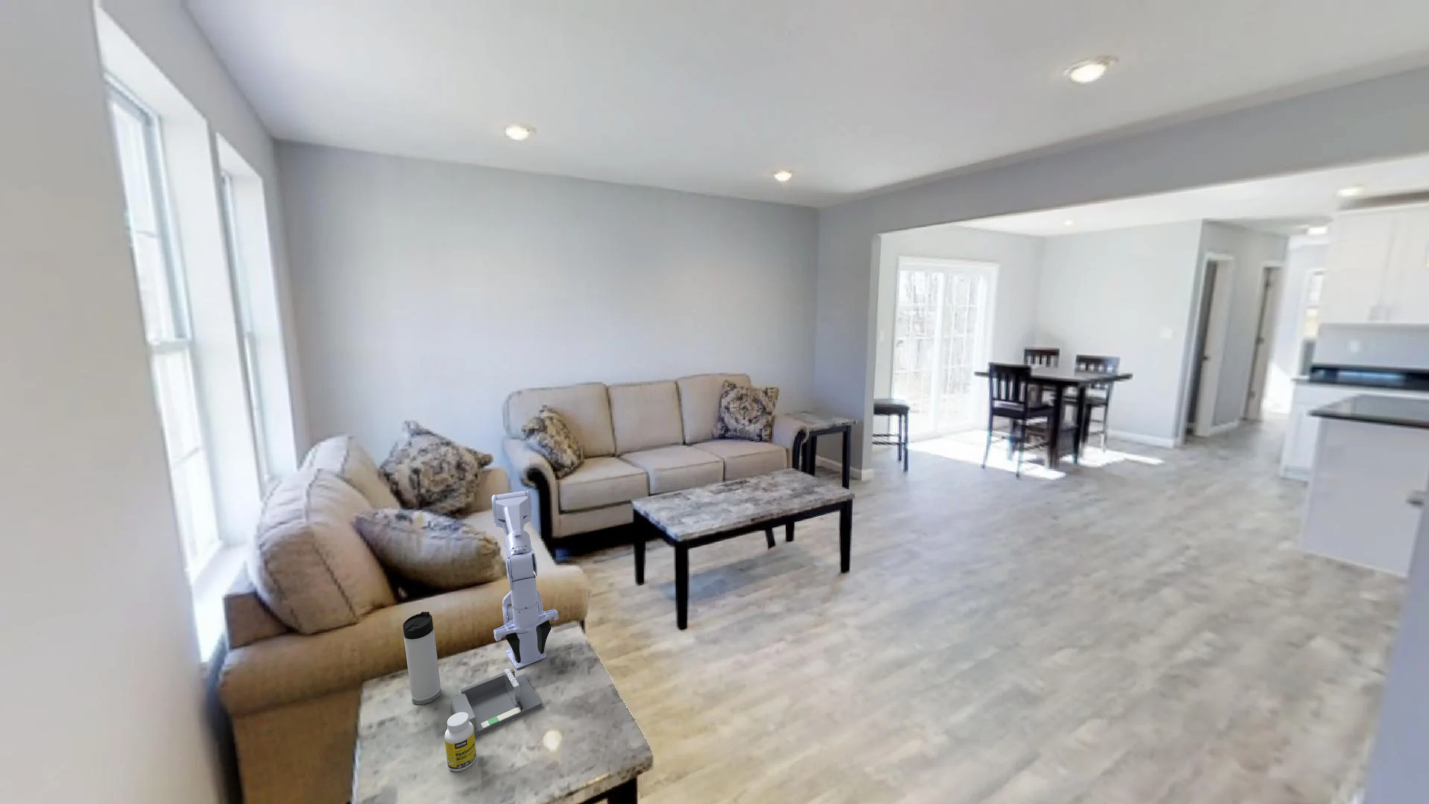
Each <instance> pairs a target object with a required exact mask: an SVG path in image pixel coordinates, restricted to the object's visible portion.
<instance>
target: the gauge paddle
mask: <svg viewBox="0 0 1429 804" xmlns="http://www.w3.org/2000/svg"><path fill="white" fill-rule="evenodd" d="M510 670H511V669H510V667H507V668H505V669H503V673H504V679H505V688H506V690H507V691H508V693H509V695H510V697H511V698H512V700H513V702H514V704H515V705H518V707H519V709H520V710H523V706H522V705H521V698H520V687H519V684H518V682H517V680H516V679H515V678H516V676H515V677H514V676H513V674H512V672H511V671H510Z"/></svg>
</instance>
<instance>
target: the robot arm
mask: <svg viewBox="0 0 1429 804" xmlns="http://www.w3.org/2000/svg"><path fill="white" fill-rule="evenodd" d="M532 503H533V502H532V494H531V491H530V490H529V489H526V490H521V491H520V490H519V491H514V492H508V493H500V494H493V495H492V496H491V506H492V507H491V508H492V515H493V519H494V520H493V522H494V524H495V526H496V527H498V528H500V529H501V528H502V529H503V532H504V534H505V538H504V539H505V540H504V541H505V542H504V543H505V550H506V559H505V566H506V568H505V569H506V574H507V575H506V576H507V581H508V583H509V584H508V585H509V589H510V591H509V592H508V593H507V594H506V595H505V596H504V597H503V599H502V608H501V609H502V616H503V617H502V618H503V625H502V626H500V627H497V628H495V629H493V637H494V639H495V641H496V642H498V641H502V638H505V640H506V641H507V643H508V649H505V654H506V655H507V656H508V658H509V660H510V661H511V663H512V664H513V666H514V668H515V669H516V670H519V669H520V668H524V667H526V666H529V665H531V664H534V663H536V662H538V661H541V660H543V659H546V658H547V654H546V653H545V648H546V642H547V639H548V637H549V634H550V632H551V630H552V624H551V623H550V621H552V620H553V621H557V620H559V611H558V610H557V609H556V608H552V609H549V610H544V606H543V600H542V595H541V593H540V591H539V590H538V588H537V578H536V577H538V562H537V556H536V553H535V551H534V549H533V547H532V542H531V537H530V536H531V535H530V534H529V532H528V531H526V530H525V529H524V527H525V525H526V524H527V523H529V522H530V521H531V519H532V511H533V504H532Z"/></svg>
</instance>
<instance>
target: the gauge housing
mask: <svg viewBox="0 0 1429 804" xmlns="http://www.w3.org/2000/svg"><path fill="white" fill-rule="evenodd" d="M510 671H511V672H512V674H513V676H514V677H515V679H516V680H517V682H518V684H519V687H520V698H521V705H522V706H523V710H520V709H519V707H518V705H515V704H514V702H513V700H512V698H511V697H510V695H509V693H508V691H507V690H506V688H505V679H504V672H501V673H499V674H496V675H493V676H492V677H489V678H485V679H483V680H482V681H479V682H477V683H476V682H475V683H474V684H471V685H469V686H465V687H463V688H461V689H460V692H461V693H460V694H457V695H455V696H452V697H451V698H450V699H449V700H450V705H449V707H450V710H451V713H452V715H454V714H456V713H459V712H465V713H467V714H468V715H469V722H471V723H472V724H473V727H474V736H475V738H476V737H478V736H480V735H482V734H484V733H487V732H490V731H492V730H493V729H497V728H498V727H501V726H503V725H504V724H507V723H510V722H512V721H513V720H516V719H518V718H520V717H524V716H525V715H528V714H529V713H533V712H534V711H537V710H538V709H541V708H542V707H543V703H542V701H541V699H540V698H539V696H538V695H537V693H536V692H535V689H534V688H533V686H532V685H531V683H530V682H529V680H528V679H527V677H526V675H524V674H522V675H520V676H518V677H516V672H515V670H514V668H511V669H510Z"/></svg>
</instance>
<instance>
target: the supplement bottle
mask: <svg viewBox="0 0 1429 804" xmlns="http://www.w3.org/2000/svg"><path fill="white" fill-rule="evenodd" d="M446 725H447V729H446V731H445V733H444V743H445V745H444V746H445V753H446V765H447V768H448V769H449V770H450V771H452V772H462V771H464V770H466V769H468V768H471V766H472V765H473V764H474V763H475V761H476V759H477V749H476V737H475V736H474V727H473V724H472V723H471V722H469V715H468V714H467V713H465V712H459V713H456V714H454V715H453V714H452V715H451V716H450V717H449V718H448V719H447V721H446Z"/></svg>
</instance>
